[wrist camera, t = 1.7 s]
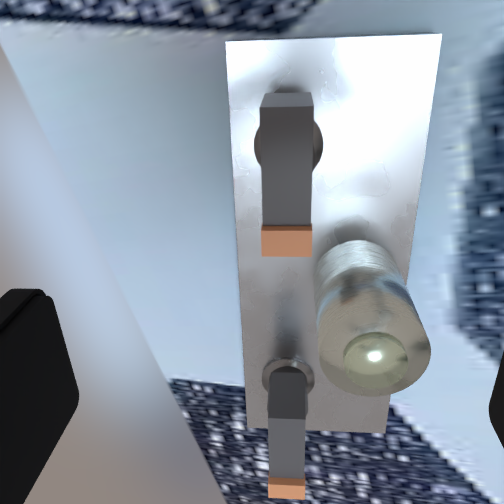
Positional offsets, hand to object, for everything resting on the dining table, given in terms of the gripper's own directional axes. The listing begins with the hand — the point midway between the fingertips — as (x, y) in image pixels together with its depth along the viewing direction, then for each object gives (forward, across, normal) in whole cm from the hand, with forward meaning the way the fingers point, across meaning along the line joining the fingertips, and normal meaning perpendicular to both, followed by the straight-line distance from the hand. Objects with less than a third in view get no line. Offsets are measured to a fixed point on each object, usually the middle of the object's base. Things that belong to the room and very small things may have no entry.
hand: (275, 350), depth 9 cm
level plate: (+18, -2, +8) cm, 19 cm away
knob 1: (+16, 0, 0) cm, 16 cm away
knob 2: (+16, 0, +16) cm, 22 cm away
